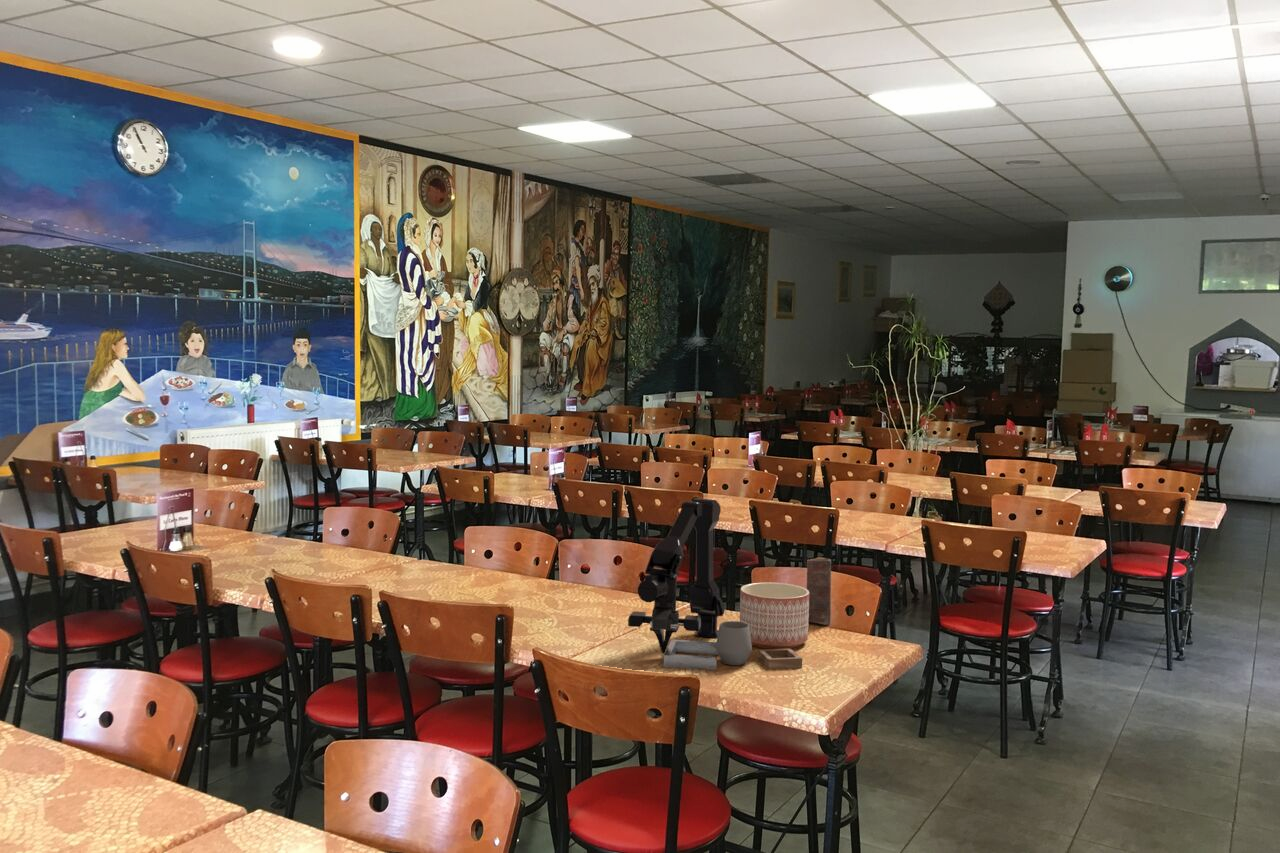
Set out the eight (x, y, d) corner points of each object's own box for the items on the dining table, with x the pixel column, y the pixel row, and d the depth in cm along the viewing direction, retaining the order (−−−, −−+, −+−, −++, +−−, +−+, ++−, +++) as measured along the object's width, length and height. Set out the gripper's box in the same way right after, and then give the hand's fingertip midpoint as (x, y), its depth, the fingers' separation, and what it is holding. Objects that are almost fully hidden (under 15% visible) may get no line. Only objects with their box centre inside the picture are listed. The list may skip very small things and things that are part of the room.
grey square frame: (663, 666, 255) (663, 655, 255) (671, 650, 270) (671, 639, 270) (716, 670, 253) (716, 658, 253) (720, 653, 268) (721, 642, 267)
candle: (811, 627, 297) (813, 560, 295) (801, 620, 304) (803, 556, 302) (834, 625, 299) (836, 560, 297) (823, 619, 306) (825, 555, 304)
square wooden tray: (757, 658, 264) (758, 649, 264) (790, 657, 266) (790, 648, 265) (768, 669, 255) (769, 659, 255) (802, 667, 257) (802, 658, 257)
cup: (708, 659, 262) (709, 622, 262) (739, 655, 266) (740, 618, 266) (726, 669, 254) (727, 631, 253) (758, 665, 258) (759, 627, 257)
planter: (732, 646, 274) (733, 594, 273) (747, 629, 292) (748, 580, 291) (801, 654, 268) (803, 600, 267) (812, 636, 286) (814, 586, 285)
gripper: (625, 599, 255) (623, 659, 256) (697, 604, 252) (695, 664, 253) (632, 589, 266) (630, 647, 267) (701, 594, 263) (699, 652, 264)
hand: (663, 653), depth 263 cm, fingers closed
